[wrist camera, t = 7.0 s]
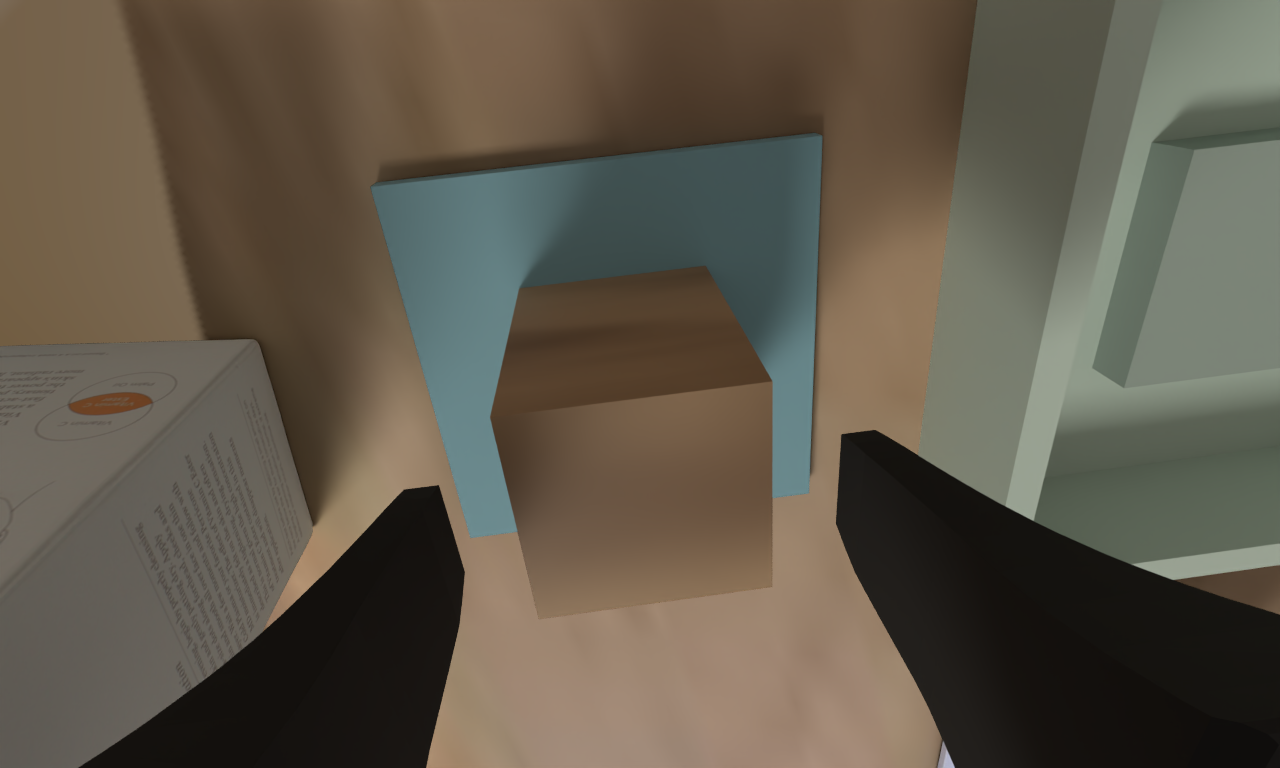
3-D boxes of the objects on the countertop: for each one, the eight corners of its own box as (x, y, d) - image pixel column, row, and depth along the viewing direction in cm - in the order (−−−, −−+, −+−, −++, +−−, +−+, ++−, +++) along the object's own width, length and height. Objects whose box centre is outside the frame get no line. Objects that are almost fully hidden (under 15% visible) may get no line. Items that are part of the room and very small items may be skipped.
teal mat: (803, 483, 20) (809, 493, 19) (472, 526, 19) (470, 537, 19) (815, 132, 15) (822, 135, 14) (376, 182, 14) (370, 186, 14)
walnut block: (713, 423, 18) (772, 586, 12) (549, 444, 18) (538, 619, 12) (705, 265, 16) (772, 381, 10) (519, 288, 15) (489, 417, 10)
